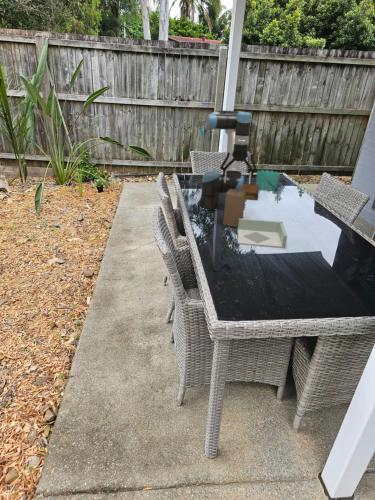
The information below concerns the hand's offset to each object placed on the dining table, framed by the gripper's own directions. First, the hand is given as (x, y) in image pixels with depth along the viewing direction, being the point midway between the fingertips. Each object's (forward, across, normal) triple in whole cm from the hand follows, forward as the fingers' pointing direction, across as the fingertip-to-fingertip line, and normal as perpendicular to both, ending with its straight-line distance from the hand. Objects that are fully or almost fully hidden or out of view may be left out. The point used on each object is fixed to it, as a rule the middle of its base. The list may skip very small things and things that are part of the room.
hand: (237, 182), depth 183 cm
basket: (+25, +27, +86) cm, 94 cm away
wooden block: (+25, 0, 0) cm, 25 cm away
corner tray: (+25, +15, -18) cm, 34 cm away
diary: (+25, +9, +62) cm, 68 cm away
